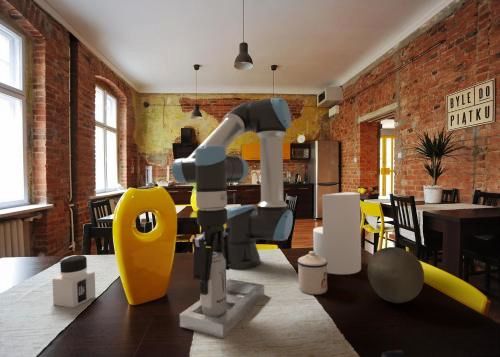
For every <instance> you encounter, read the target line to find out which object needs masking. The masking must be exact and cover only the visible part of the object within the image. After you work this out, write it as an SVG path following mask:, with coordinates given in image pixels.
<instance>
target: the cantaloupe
mask: <svg viewBox="0 0 500 357" xmlns="http://www.w3.org/2000/svg"><path fill="white" fill-rule="evenodd" d="M366 270H367V277H368V280H369V283H370V285H371V287H372V289H373V290H374V291H375V293H376V294H377V295H378V296H379V297H380V298H381V299H383V300H385V301H386V302H389V303H393V304H402V303H406V302H410V301H412V300H414V299H415V298H416V297H417V296H418V295H419V294H420V292H421V291H422V289H423V287H424V281H425V270H424V268H423V265H422V262H421V261H420V260H419V258H418V257H417V256H416V255H414V254H413V253H412V252H410V251H408V250H406V249H404V248H402V247H401V248H400V247H397V246H388V247H383V248H382V247H381V248H380V249H378V250H377V251H375V252H374V254H373V255H372V256H371V257H370V259H369V262H368V265H367V269H366Z"/></svg>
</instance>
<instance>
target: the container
mask: <svg viewBox="0 0 500 357" xmlns="http://www.w3.org/2000/svg"><path fill="white" fill-rule="evenodd" d="M59 264H60V275H58V276H55V277H53V278H52V303H53V305H54V306H58V307H59V306H60V307H65V308H69V309H73V308H76V307H78V306H80V305H82V304H84V303H86V302H88V301H90V300H92V299H94V298H95V297H96V273H95V271H90V270H88V267H87V266H88V259H87V256H85V255H83V254H82V255H81V254H76V255H70V256H65V257H64V258H62V259H61V260H60V262H59Z"/></svg>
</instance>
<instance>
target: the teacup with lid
mask: <svg viewBox="0 0 500 357" xmlns="http://www.w3.org/2000/svg"><path fill="white" fill-rule="evenodd" d="M327 264H328V263H327V260H326V259H325V258H323V257H320V256H318V255H316V253H315V252H314V250H311V251H310V250H309V252H308V254H305V255H302V256H301V257H299V258H298V259H297V267H298V268H297V269H298V289H299V290H300V291H301V292H302V293H304V294H308V295H322V294H325V293H327V291H328V273H327Z"/></svg>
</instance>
